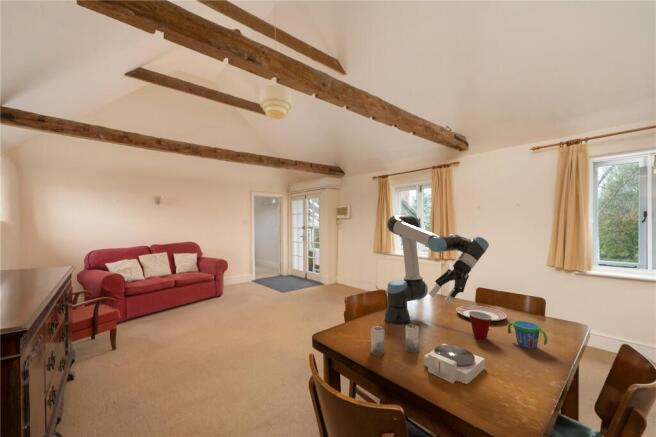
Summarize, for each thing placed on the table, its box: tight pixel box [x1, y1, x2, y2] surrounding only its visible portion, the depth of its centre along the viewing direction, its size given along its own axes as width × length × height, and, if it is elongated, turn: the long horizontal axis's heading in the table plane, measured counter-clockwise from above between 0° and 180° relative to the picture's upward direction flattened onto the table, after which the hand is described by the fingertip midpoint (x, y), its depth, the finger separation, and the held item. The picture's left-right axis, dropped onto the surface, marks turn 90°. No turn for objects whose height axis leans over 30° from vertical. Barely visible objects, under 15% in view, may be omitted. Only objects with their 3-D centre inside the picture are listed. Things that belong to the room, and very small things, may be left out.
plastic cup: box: [469, 311, 492, 341], centre depth 135 cm, size 11×11×12 cm
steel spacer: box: [370, 325, 385, 356], centre depth 120 cm, size 6×6×11 cm
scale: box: [423, 343, 486, 385], centre depth 107 cm, size 17×21×7 cm
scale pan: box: [433, 344, 475, 366], centre depth 108 cm, size 15×15×1 cm
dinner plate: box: [455, 305, 507, 323], centre depth 165 cm, size 27×27×3 cm
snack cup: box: [507, 320, 548, 350], centre depth 126 cm, size 16×10×10 cm
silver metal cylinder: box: [404, 323, 420, 354], centre depth 122 cm, size 6×6×11 cm
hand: (438, 298), depth 124 cm, fingers open, 13 cm apart
